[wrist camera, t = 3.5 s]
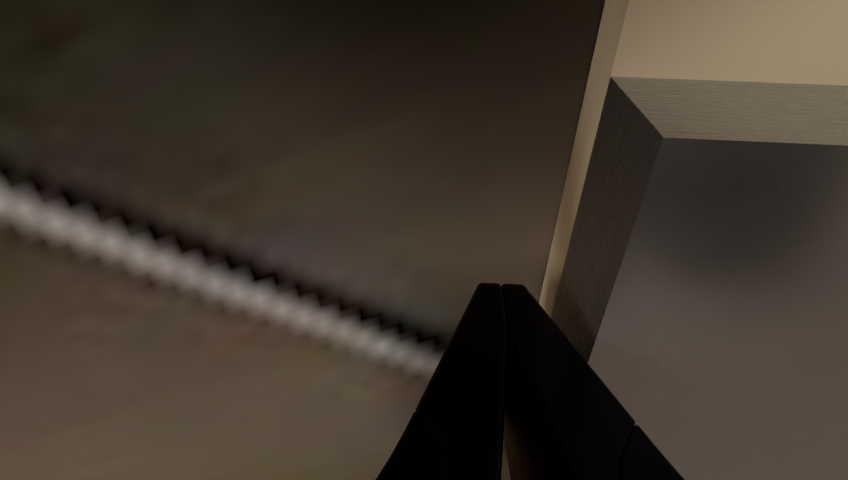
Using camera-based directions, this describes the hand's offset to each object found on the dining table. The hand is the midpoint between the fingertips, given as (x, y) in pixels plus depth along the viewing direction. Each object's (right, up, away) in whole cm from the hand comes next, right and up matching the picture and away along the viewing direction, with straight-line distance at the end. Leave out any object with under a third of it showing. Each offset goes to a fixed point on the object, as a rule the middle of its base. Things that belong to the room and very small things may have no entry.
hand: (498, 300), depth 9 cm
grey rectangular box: (+4, 0, +1) cm, 5 cm away
